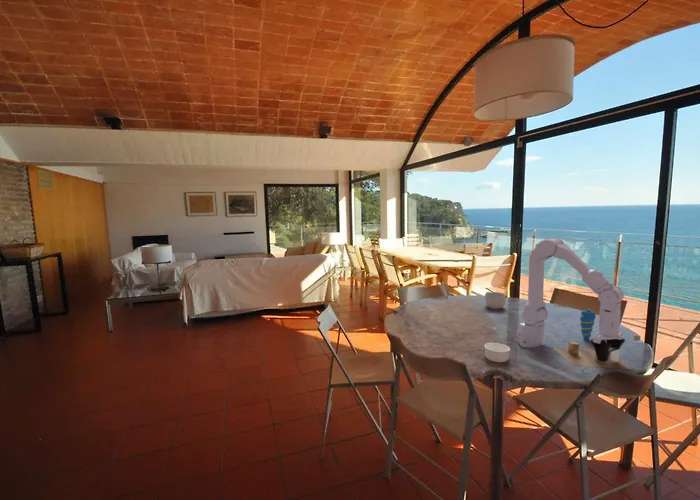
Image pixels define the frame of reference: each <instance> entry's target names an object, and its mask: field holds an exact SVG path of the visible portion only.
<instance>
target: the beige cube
mask: <svg viewBox="0 0 700 500" xmlns="http://www.w3.org/2000/svg"><path fill="white" fill-rule="evenodd" d="M620 351H621V348H620V349H618V348H615V347H612V346H611V347H610V348H609V350H608V353H607V358H606V361H605V362H602V361H599V360H598V359H597V355H596V351H595V361H598V362H601V363H604V364H607V365H609V366H611V365H614V364H617V363H619V360H620Z"/></svg>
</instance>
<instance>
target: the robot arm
mask: <svg viewBox="0 0 700 500" xmlns="http://www.w3.org/2000/svg"><path fill="white" fill-rule="evenodd" d="M552 257H553V258H555V259H561V260H564V261H565V262H567V264H569V265H570V266H571V267H572V268H573V269H575V271H577V272H578V273H579V275H581V281H582V282H583V283H584V284H585V285H587V287H588V288H589V289H591V290H592V292H593V293H595V295H597V299H598V301H599V302H600V307H599V317H598V331H597V332H596V334H595V335H593V336H592V339H591V338H590V339H591V340H590V342H591V344H592V347H593V349H595V351H596V355H597V359H598V360H599V361H602V362H605V361H606V358H607V353H608V350H609V348H610V347H611V346H612V347H615V348H618V349H620V350H621V346H622V345H623V344H624V343H625V342H626V339H625V338H623V337H624V330H621V329H620V323H621V312H622V310H621V307H622V304H621V303H622V301H623V299H624V296H625V294H624V291H623V290H622V289H621V288H620V287H619V286H616V285H615V284H614V283H613V282H610V281H609V280H608V279H607V278H606V277H605V276H603V275H604V273H603V272H602V271H598V270H597V269H591V268H589V266H588V265H587V264H586V263H585V262H584V261H583V260H582V259H581V258H580V257H579V256H578V255H577V254H576V253H575V252H574V251H573V250H572V249H571V247H570V246H569V245H568V244H567V243H565V242H564V241H563V239H561V238H559V237H558V238H557V237H556V238H551V239H543V240H541V241H539V242H538V243H536V244H535V248H533V250H532V252H531V253H530V255H529V258H528V259H529V260H528V285H527V286H528V289H527V290H528V293H527V295H528V296H527V297H528V298H527V301H526V303H525V304H524V308H523V311H522V314H521V317H522V321H523V322H519V323H517V327H516V328H517V331H516V335H517V336H516V342H517V343H518V344H519V346H521V348H530V349H531V348H532V349H533V348H536V347H540V346H544V345H545V343H544V342H545V320H546V319H547V318H548V316H549V313H548V310H547V307H546V306H547V305H546V303H545V301H544V286H545V285H544V281H545V280H544V279H545V262H547V260H550V258H552Z"/></svg>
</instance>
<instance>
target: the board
mask: <svg viewBox="0 0 700 500" xmlns="http://www.w3.org/2000/svg"><path fill="white" fill-rule="evenodd" d="M553 349H554V350H555V351H556V352H557V353H559V355H561V356H562V357H563V358H564V359H565V360H566V361H567V363H569V364H570V365H571V366H572V367H584V368H585V367H587V368H588V367H591V368H607V369H608V368H609V369H624V370H625V369H626V370H627V369H628V370H632V368H631V367H630V366H628V365H627V364H625V363H624V362H622V361H621V360H620V359H619V363H617V364H614V365H611V366H609V365H607V364H604V363H601V362H598V361H595V348H580V344H579V343H578V342H576V341H568V347H553Z"/></svg>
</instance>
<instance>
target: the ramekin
mask: <svg viewBox="0 0 700 500" xmlns="http://www.w3.org/2000/svg"><path fill="white" fill-rule="evenodd" d="M483 347H484V354H485V358H486V359H487V360H489V361H491V362H495V363H505V362H507V361H508V360H509V358H510V357H509V356H510V351H511V347H509V346H508V345H507V344H503V343H499V342H487V343H485V344H484V346H483Z"/></svg>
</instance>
